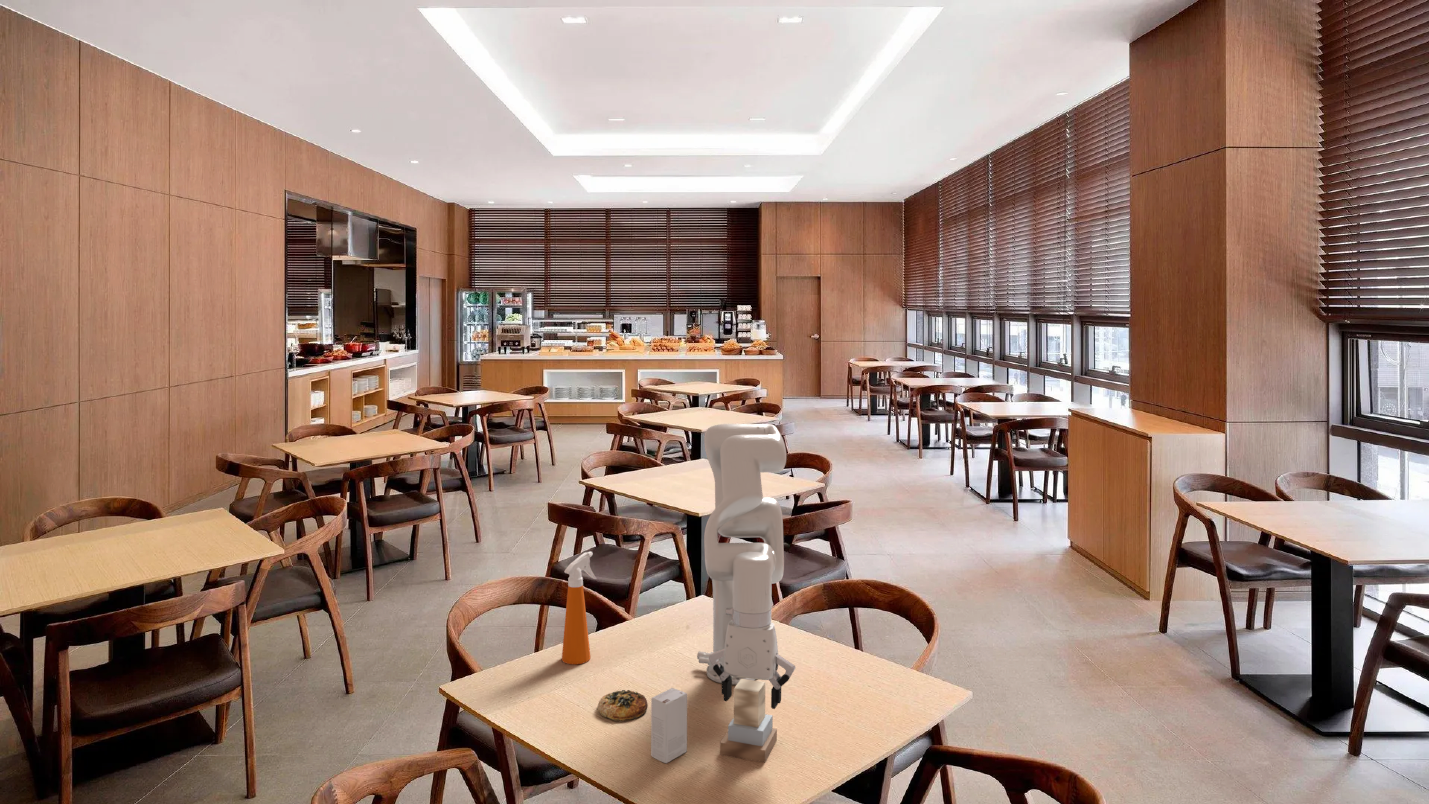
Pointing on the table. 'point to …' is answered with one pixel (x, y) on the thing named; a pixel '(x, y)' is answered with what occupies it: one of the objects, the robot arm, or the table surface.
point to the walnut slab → (748, 748)
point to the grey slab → (751, 732)
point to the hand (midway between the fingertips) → (751, 702)
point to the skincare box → (668, 725)
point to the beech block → (749, 703)
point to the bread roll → (622, 705)
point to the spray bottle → (576, 613)
